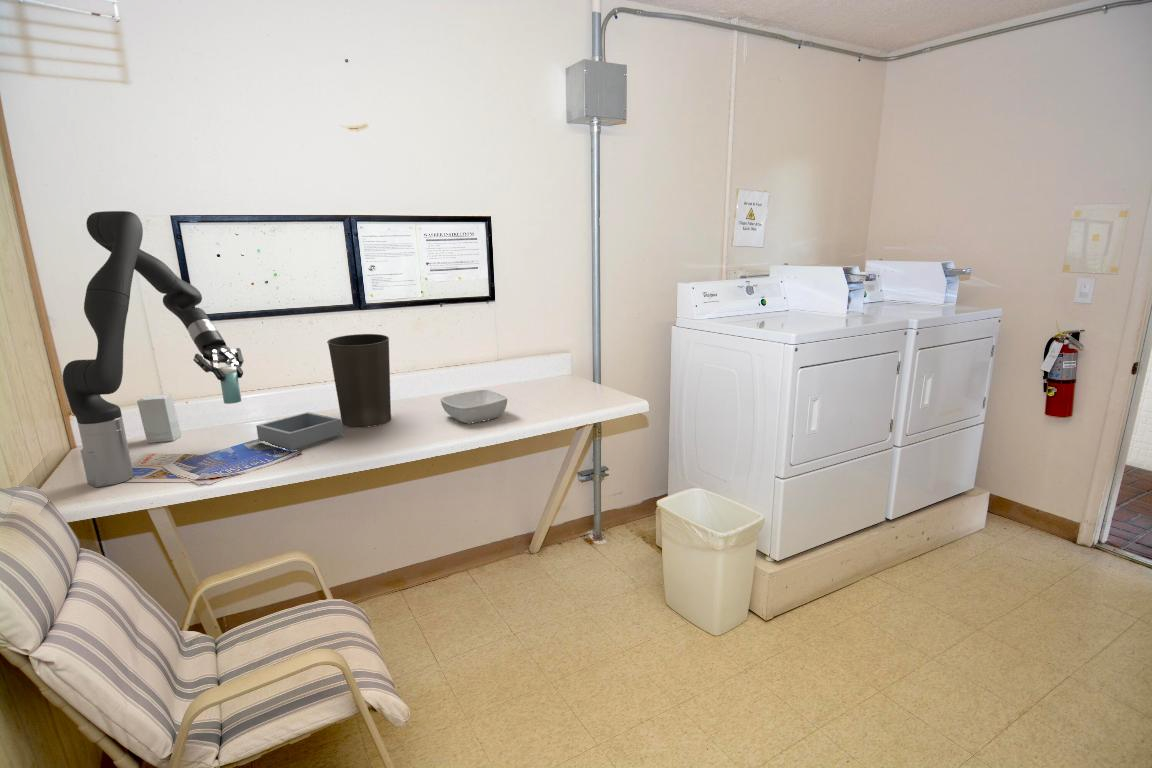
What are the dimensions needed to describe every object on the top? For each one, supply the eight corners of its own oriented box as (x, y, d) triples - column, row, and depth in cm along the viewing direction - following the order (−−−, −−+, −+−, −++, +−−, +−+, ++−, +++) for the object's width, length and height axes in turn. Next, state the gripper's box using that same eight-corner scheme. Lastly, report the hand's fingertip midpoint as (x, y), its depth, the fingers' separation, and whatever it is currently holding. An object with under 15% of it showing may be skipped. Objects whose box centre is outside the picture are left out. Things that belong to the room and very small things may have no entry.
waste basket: (399, 427, 200) (392, 342, 193) (336, 435, 193) (325, 346, 186) (393, 409, 225) (386, 332, 218) (337, 415, 217) (328, 336, 211)
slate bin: (291, 452, 177) (289, 433, 175) (258, 443, 186) (256, 425, 185) (342, 436, 191) (340, 419, 190) (309, 428, 201) (307, 412, 199)
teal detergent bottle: (228, 404, 179) (223, 369, 177) (220, 402, 182) (215, 368, 179) (244, 400, 183) (239, 366, 181) (236, 399, 186) (231, 365, 183)
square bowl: (461, 429, 197) (459, 408, 196) (437, 416, 213) (435, 396, 212) (513, 418, 209) (512, 398, 207) (486, 407, 225) (485, 388, 224)
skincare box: (181, 436, 195) (174, 393, 192) (173, 441, 189) (165, 397, 186) (154, 438, 193) (146, 395, 190) (144, 443, 188) (136, 399, 184)
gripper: (184, 332, 175) (211, 374, 172) (232, 326, 187) (258, 366, 184) (178, 348, 179) (204, 390, 176) (226, 341, 191) (251, 381, 187)
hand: (232, 377), depth 180 cm, fingers closed on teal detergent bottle, 4 cm apart
